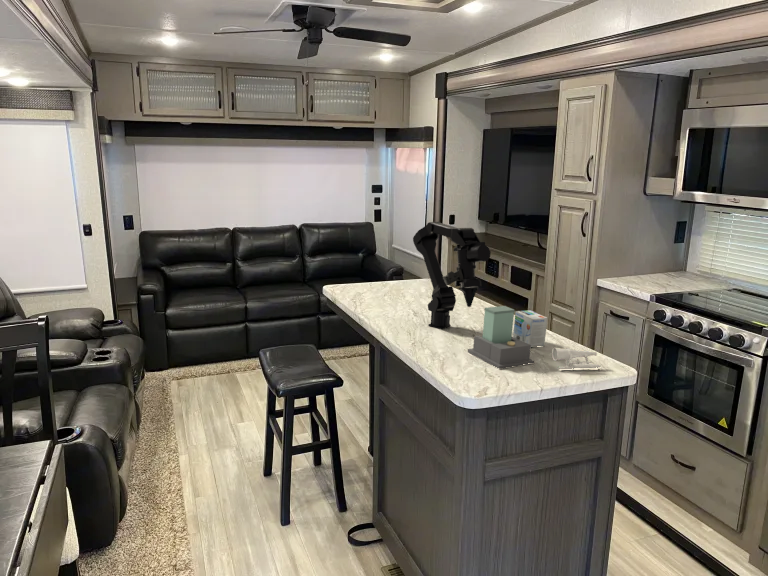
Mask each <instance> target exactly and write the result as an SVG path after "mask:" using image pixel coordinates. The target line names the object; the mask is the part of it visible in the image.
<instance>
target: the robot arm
mask: <svg viewBox="0 0 768 576" xmlns="http://www.w3.org/2000/svg"><path fill="white" fill-rule="evenodd" d="M440 236H443V237H447V238H449V239H450V240H451V241H450V242H452V243H454V244H456V246H455V247H454V248H453V251H454V252H457V253H456V254H457V255H456V256H457V267H456V270H455V271H452V270H451V271H450V272H447V274H446V275H443V272H442V269H441V266H440V263H439V260H438V257H437V254H436V247H437V240H438V239H439V237H440ZM412 242H413V244H414V246H415V249H416V251H417V252H418V253H420V254H421V255H422V258H423V260H424V263H425V267H426V269H427V273H428V277H429V279H430V282H431V285H432V288H433V290H432V293H431V300H430V301H429V303H428V304H427V310H428V311H429V312H431V314H430V323H428V324H427V325H428V327H433V328H437V329H441V330H444V329H446V328H448V327H451V326H452V325H451V324H450V322H451V315H450V312H453V311H454V308H455V305H456V302H457V299H456V296H457V295H456V294H455V290H454V288H453V286H449V285H451V284H452V283H454V287H458V288H457V289H458V290H459V291H461V292H462V293H463V296H464V299H465V303H466V306H467V308H469V307H472V304H473V301H474V298H475V296H476V293H477V290H478V289H479V287H482V286H483V285H482V280H481V279H480V278H479V277H478V278H477V276H476V268H477V267H476V266H477V265H475V263H481V262H482V263H483V262H487V261H489V259H490V258H491V250H490V248H489V246H487V245H486V241H481V240H480V238H479V237H478V235H477V234H476V232H475V230H474V228H472V227H457V226H452V225H449V224H445V223H443V222H442V223H441V222H440V221H430V222H428V223H426V225H424V226H423V227H422V228H420V229H419V230H417V232H416V233H415V234H414V236H413V237H412Z"/></svg>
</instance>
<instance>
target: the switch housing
mask: <svg viewBox="0 0 768 576" xmlns="http://www.w3.org/2000/svg"><path fill="white" fill-rule="evenodd" d="M472 347H473V348H472ZM472 347H471V348H467V353H469V354H471V355H472V356H475V357H476V358H478V359H480V360H482V361H484V362H485V363H487V364H489V365H491V366H492V365H493V367H494V366H495V367H494V368H496V367H497V368H496V369H498V368H503V369H507V368H506V367H510V368H513V367H512V366H516V367H519V366H518V365H522V366H524V365H523V364H528V363H534V364H535V360H533V359H531V357H530V356H531V349H532V348H531V345H529V344H527V343H525V342H523V341H520V340H518V339H516V338H514V337H513V336H512V338H511V341H508V342H505V343H498V344H495V343H493V342H491V341H489V340H487V339H485V338H483V336H481V335H474V336H473V346H472Z"/></svg>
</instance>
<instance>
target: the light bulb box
mask: <svg viewBox="0 0 768 576" xmlns="http://www.w3.org/2000/svg"><path fill="white" fill-rule="evenodd" d="M547 326H548V317H547V316H544V315H542V314H539V313H537V312H536V311H534V310H531V309H530V310H515V312H514V321H513V331H512V337H514V338H516V339H518V340H520V341H523V342H525V343H527V344H529V345H531V347H537V346H544V347H545V343H546V335H547ZM537 348H538V347H537Z"/></svg>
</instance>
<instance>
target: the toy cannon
mask: <svg viewBox="0 0 768 576" xmlns="http://www.w3.org/2000/svg"><path fill="white" fill-rule="evenodd" d="M597 355H598V353H597V351H589V350H586V349H583V350H580V349H578V350H577V349H572V348H570V347H566V348H558V347H553V348H552V350H551V357H552V359H553V361H555V362H557V361H558V360H559V361H561V360H565V366H559V365H558V366H557V369H558V368H559V369H572V368H573V369H574V368H596V367H597V368H598V367H601V365H599V363H592V361H589V359H588V357H591V356H594V357H595V356H597ZM578 358H584V360H585V361H581V360H579V359H578ZM572 359H576V361H572ZM601 368H602V367H601Z"/></svg>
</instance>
